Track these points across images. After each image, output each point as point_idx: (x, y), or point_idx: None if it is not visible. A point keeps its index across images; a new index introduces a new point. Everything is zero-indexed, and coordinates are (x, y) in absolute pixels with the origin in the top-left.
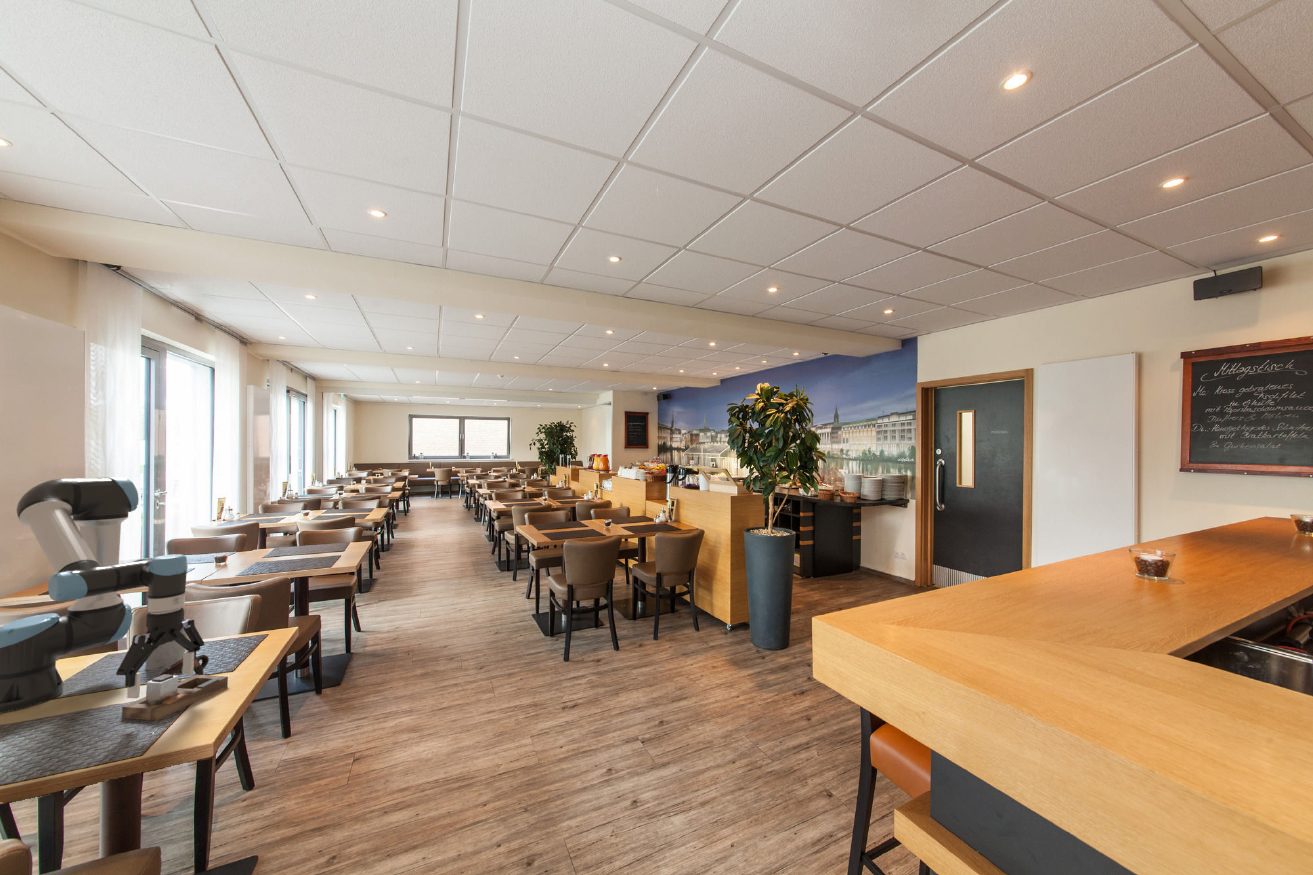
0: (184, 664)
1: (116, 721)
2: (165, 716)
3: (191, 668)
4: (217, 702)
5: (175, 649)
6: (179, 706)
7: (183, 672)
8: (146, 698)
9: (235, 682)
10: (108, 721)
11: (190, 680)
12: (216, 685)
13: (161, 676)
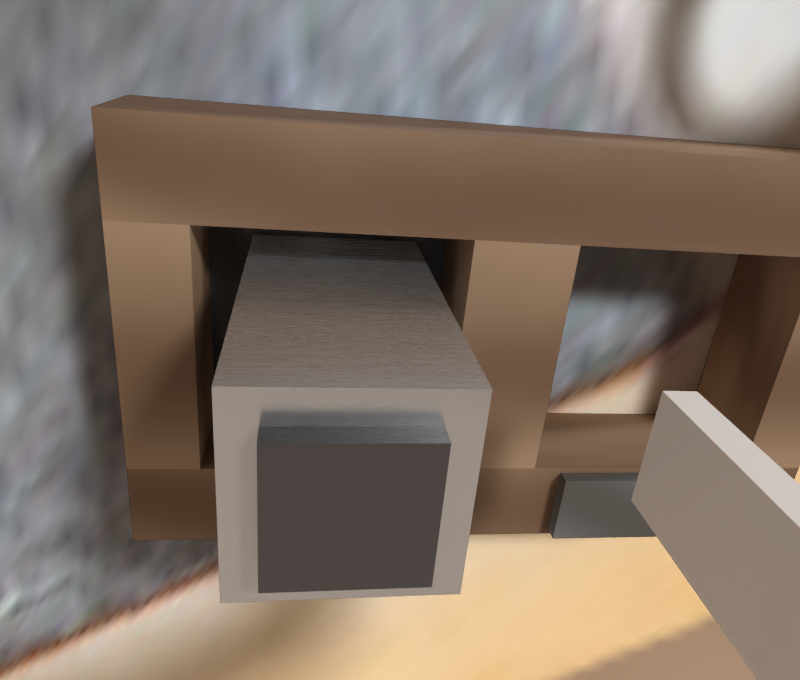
0: (744, 504)
1: (59, 116)
2: None
3: (681, 559)
4: (451, 616)
5: None
6: None
7: (673, 419)
8: (240, 291)
9: None
10: (37, 19)
11: (756, 253)
12: None
13: (374, 477)
